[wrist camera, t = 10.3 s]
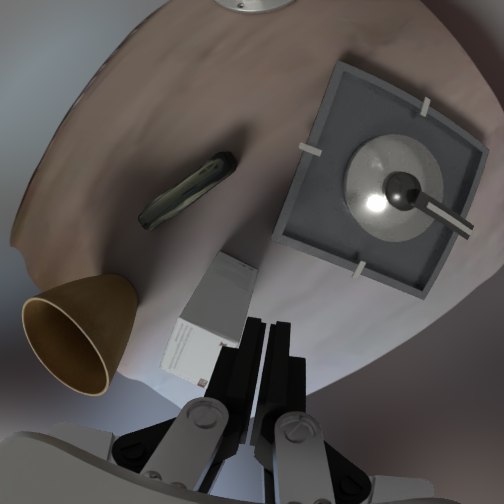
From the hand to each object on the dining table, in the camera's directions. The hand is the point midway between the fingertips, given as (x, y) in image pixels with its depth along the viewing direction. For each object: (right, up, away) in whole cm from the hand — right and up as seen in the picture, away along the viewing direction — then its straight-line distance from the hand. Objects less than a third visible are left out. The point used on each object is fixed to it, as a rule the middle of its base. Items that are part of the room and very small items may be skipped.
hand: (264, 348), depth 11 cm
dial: (+17, +11, +18) cm, 27 cm away
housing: (+16, +12, +20) cm, 28 cm away
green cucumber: (-8, +11, +24) cm, 28 cm away
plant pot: (-22, -3, +31) cm, 38 cm away
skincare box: (-4, -1, +28) cm, 28 cm away
